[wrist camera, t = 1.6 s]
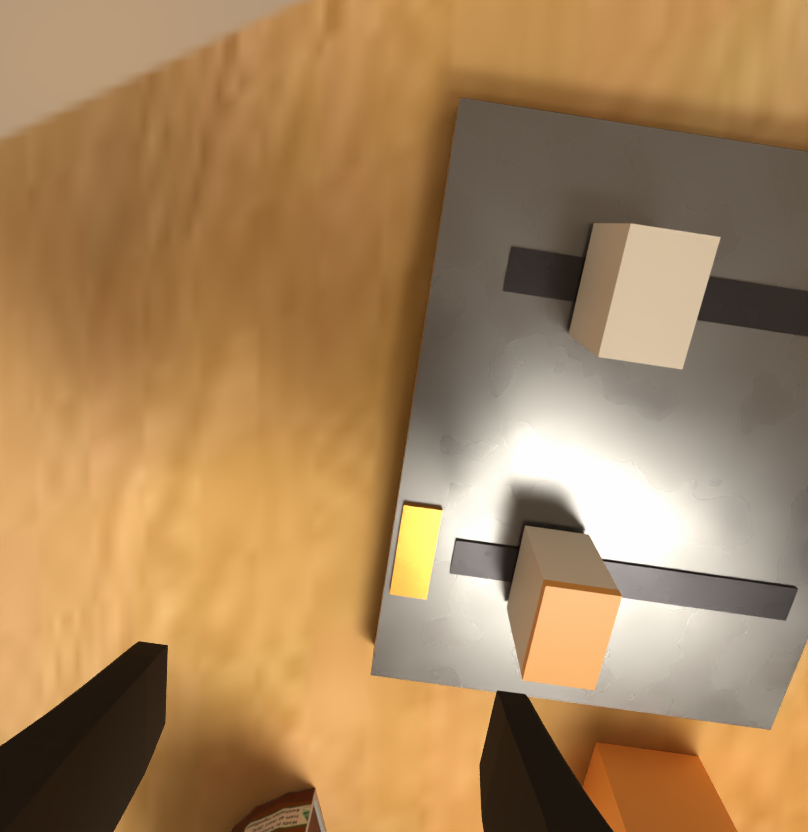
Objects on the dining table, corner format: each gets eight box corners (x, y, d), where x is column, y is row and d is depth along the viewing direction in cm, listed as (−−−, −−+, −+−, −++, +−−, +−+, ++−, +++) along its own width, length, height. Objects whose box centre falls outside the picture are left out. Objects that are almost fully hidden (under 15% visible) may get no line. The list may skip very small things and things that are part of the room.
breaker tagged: (588, 534, 19) (622, 596, 16) (567, 616, 20) (594, 690, 17) (525, 525, 19) (546, 585, 16) (506, 607, 20) (522, 680, 17)
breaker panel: (947, 184, 17) (1001, 180, 16) (748, 697, 23) (773, 734, 21) (456, 108, 17) (460, 95, 15) (373, 646, 22) (370, 679, 21)
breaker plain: (667, 234, 16) (720, 236, 13) (638, 344, 17) (681, 369, 14) (594, 223, 16) (630, 223, 13) (568, 334, 17) (598, 357, 14)
